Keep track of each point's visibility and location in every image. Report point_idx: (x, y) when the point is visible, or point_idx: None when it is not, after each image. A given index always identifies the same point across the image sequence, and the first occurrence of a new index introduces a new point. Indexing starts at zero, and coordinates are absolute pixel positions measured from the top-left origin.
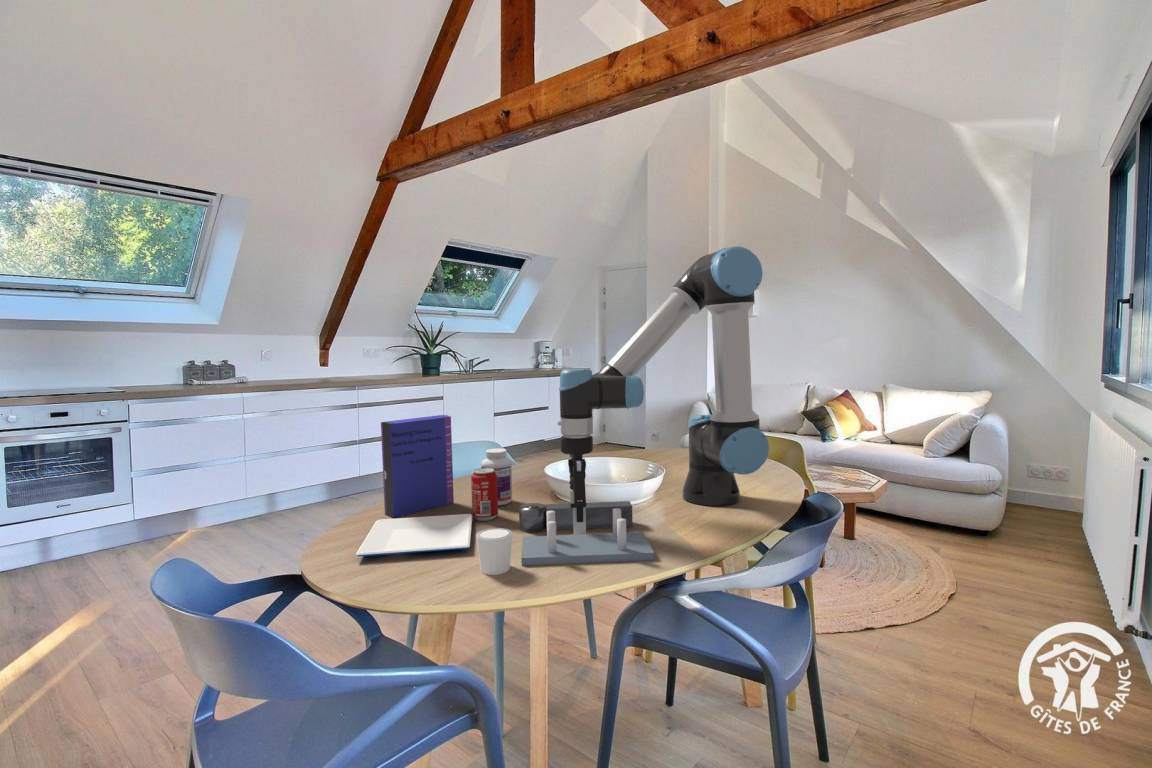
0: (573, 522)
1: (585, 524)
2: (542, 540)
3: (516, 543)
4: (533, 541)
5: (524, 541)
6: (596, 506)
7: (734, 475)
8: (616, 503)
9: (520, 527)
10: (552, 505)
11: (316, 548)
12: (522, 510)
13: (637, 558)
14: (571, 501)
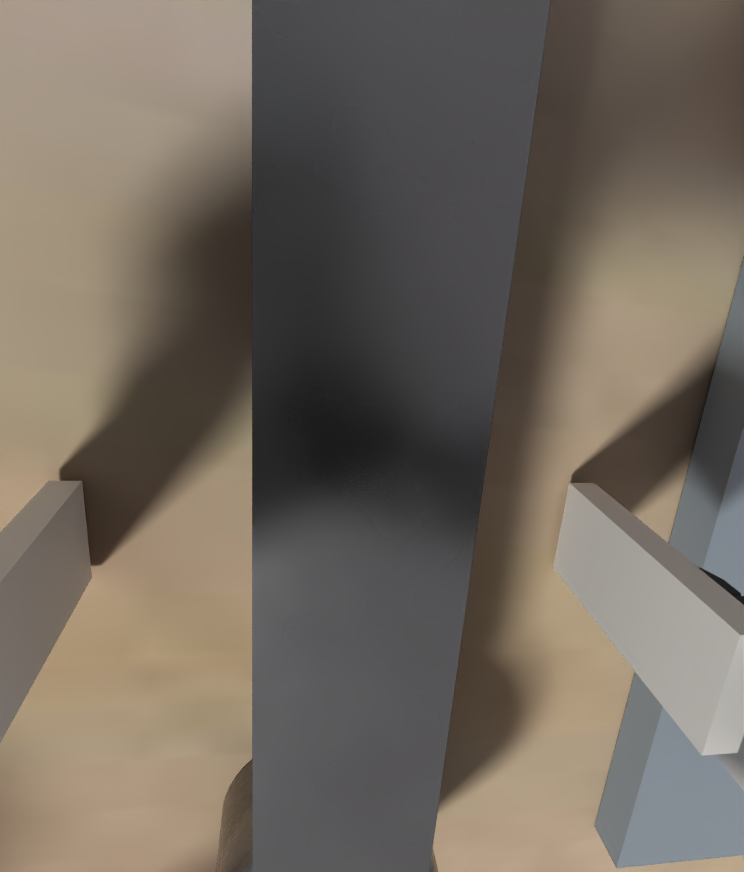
0: (609, 630)
1: (646, 528)
2: (721, 771)
3: (578, 855)
4: (717, 813)
5: (697, 853)
6: (454, 435)
7: None
8: (368, 97)
9: None
10: (314, 866)
11: None
12: None
13: None
14: (26, 677)
